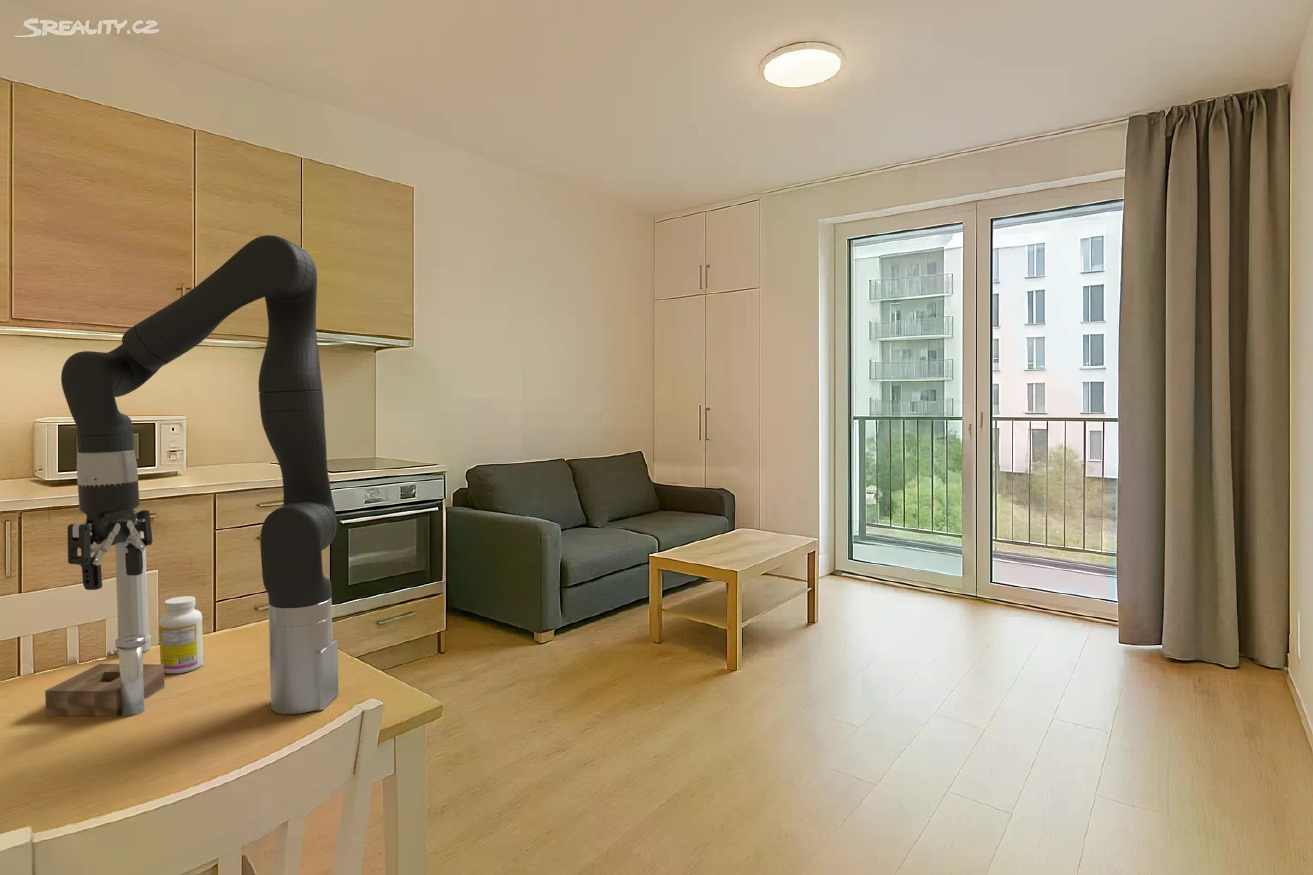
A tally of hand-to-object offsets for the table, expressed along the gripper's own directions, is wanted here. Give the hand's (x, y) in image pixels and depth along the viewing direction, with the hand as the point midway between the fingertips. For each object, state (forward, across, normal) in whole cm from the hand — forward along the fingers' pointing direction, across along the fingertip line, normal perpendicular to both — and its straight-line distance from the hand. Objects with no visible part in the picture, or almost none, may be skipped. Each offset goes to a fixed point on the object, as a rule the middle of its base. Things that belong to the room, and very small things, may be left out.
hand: (114, 581), depth 113 cm
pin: (+21, -1, -2) cm, 21 cm away
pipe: (+21, +25, +17) cm, 37 cm away
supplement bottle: (+21, +17, +2) cm, 27 cm away
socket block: (+21, +3, +5) cm, 22 cm away
